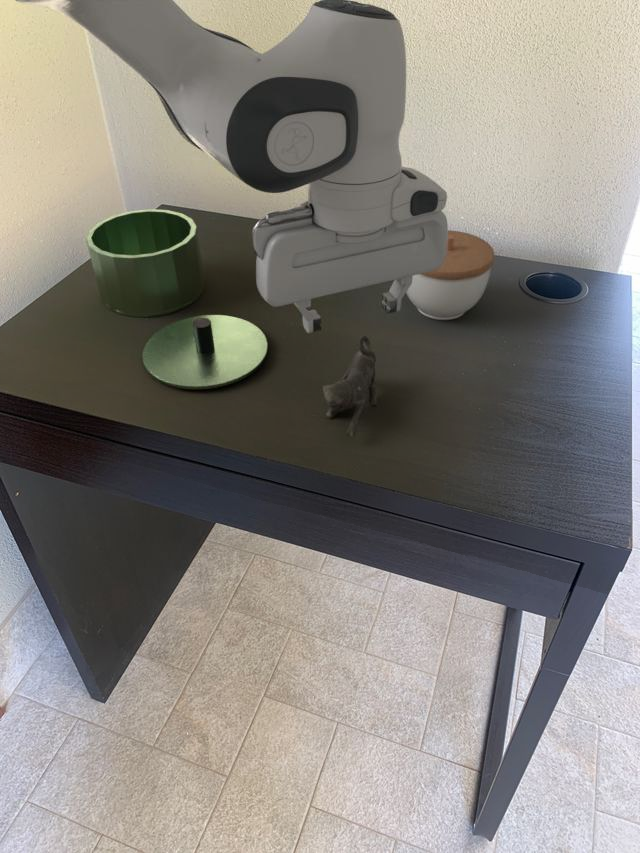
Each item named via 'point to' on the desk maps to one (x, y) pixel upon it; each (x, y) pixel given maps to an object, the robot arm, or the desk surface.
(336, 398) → the dog figurine
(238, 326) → the tin lid
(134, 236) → the waste tin
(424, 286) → the lidded bowl
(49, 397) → the desk surface
